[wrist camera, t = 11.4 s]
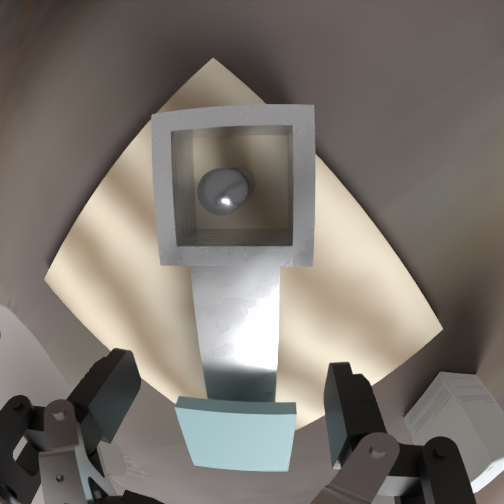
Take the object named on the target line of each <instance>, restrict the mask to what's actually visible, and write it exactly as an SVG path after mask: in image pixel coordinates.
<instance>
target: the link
mask: <svg viewBox="0 0 504 504" xmlns="http://www.w3.org/2000/svg"><path fill="white" fill-rule="evenodd" d="M151 133H152V171H153V191H154V206H155V218H156V230H157V240H158V249H159V258H160V266H190V272H191V282H192V291H193V300H194V309H195V317H196V325H197V333H198V340H199V347H200V354H201V361H202V368H203V374H204V380H205V386H206V392H207V398H208V399H212V400H225V401H242V402H275V399H276V378H277V354H278V324H279V283H280V267H313V255H314V230H315V115H314V105H295V104H256V105H231V106H216V107H205V108H195V109H186V110H177V111H170V112H163V113H157V114H152V116H151ZM249 135H287V137H288V228H231V229H197V224H196V207H195V185H194V156H193V139H195V138H208V137H224V136H249Z"/></svg>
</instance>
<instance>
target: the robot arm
mask: <svg viewBox="0 0 504 504" xmlns="http://www.w3.org/2000/svg"><path fill="white" fill-rule="evenodd" d="M140 386H141V377H140V374H139V371H138V367H137V364H136V361H135V358H134V354H133V352H132V351H131V350H126V349H120V348H114V349H113V350H112V351H111V352H110V353H109V355H108V356H107V357H103V358H102V359H100V360H99V361H97V362H96V363H94V365H93V366H92V367H91V368H90V370H89V372H87V374H86V375H85V376H84V378H83V379H82V380H81V381H80V382H79V384H78V385H77V386H76V388H75V389H74V390H73V391H72V393H71V394H70V396H69V397H68V398H67V399H66V400H63V399H60V400H55V401H53V402H51V403H50V404H48V405H47V407H40V406H33V405H32V404H31V402H30V400H29V399H28V398H27V397H26V396H23V395H17V396H14V397H12V398H11V399H9V401H8V402H7V403H6V404H5V405H4V407H3V408H2V409H1V411H0V504H31V503H32V500H33V498H34V496H35V494H36V492H37V490H38V488H39V486H40V484H41V483H42V489H43V496H44V501H45V504H164V503H162V502H160V501H158V500H156V499H154V498H151V497H147V496H144V495H140V494H137V493H134V492H131V491H128V490H125V492H124V494H123V496H118V495H117V493H116V492H115V490H114V489H113V487H112V485H111V483H110V481H109V478H108V475H107V472H106V469H105V465H104V462H103V458H102V455H101V452H100V448H99V446H98V444H99V442H100V440H101V441H104V442H107V443H111V441H112V440H113V438H114V436H115V434H116V432H117V430H118V428H119V426H120V425H121V423H122V421H123V419H124V417H125V415H126V413H127V412H128V410H129V408H130V406H131V404H132V402H133V401H134V399H135V397H136V395H137V393H138V391H139V389H140ZM323 400H324V409H325V416H326V423H327V430H328V437H329V445H330V453H331V461H332V469H340V471H339V472H338V473H337V475H336V476H335V477H334V478H333V480H332V481H331V482H330V483H329V484H328V485H327V486H325V487H324V488H323V489H322V490H321V491H320V493H319V494H318V495H317V496H316V497H315V498H314V499H313V501H312V502H311V503H310V504H371V502H372V501H373V499H374V497H375V496H376V495H384V496H394V498H395V504H476V500H475V497H474V493H473V490H472V487H471V484H470V480H469V477H468V474H467V471H466V468H465V465H464V463H463V460H462V457H461V454H460V452H459V449H458V446H457V445H456V443H455V442H454V441H453V440H452V439H450V438H448V437H444V436H438V437H434V438H432V439H430V440H429V441H427V442H426V444H425V445H406V444H401V443H398V441H397V440H396V439H395V438H394V437H393V436H391V435H389V434H388V433H387V431H386V429H385V426H384V422H383V419H382V416H381V413H380V410H379V407H378V404H377V402H376V398H375V396H374V394H373V390H372V387H371V384H370V382H369V381H368V380H367V379H366V378H365V376H364V375H363V374H362V373H361V374H353V372H352V369H351V366H350V363H349V362H332V363H329V367H328V372H327V377H326V382H325V387H324V396H323ZM22 436H24V437H25V439H26V440H27V441H28V442H27V444H26V445H25V447H24V448H23V450H22V452H21V453H20V455H19V457H18V458H17V460H16V461H15V460H14V458H13V451H14V449H15V447H16V446H17V444H18V443H19V441H20V439H21V438H22Z"/></svg>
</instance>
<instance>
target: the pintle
mask: <svg viewBox="0 0 504 504" xmlns="http://www.w3.org/2000/svg"><path fill="white" fill-rule="evenodd" d="M253 188H254V178H253V176H252V174H251V173H250V172H249V171H248V170H246V169H244V168H217V169H213V170H211V171H209V172H207V173H206V174H205V175H204V176H203V177H202V179H201V180H200V182H199V185H198V191H197V193H198V199H199V201H200V203H201V205H202V206H203V208H204V209H205V210H207V211H208V212H210V213H212V214H214V215H220V216H222V215H228V214H231V213H233V212H234V211H236V210H237V209H238V208H239V207H240V206H241V204H242V203H243V202H244V200H245V199H246V198H247V197H248V195H249V194H250V193H251V192H252V190H253Z"/></svg>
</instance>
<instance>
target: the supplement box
mask: <svg viewBox="0 0 504 504" xmlns="http://www.w3.org/2000/svg"><path fill="white" fill-rule="evenodd" d="M404 422H405V424H406V426H407V429H408V431H409V434H410V436H411V439H412V441H413V443H414V445H425V444H426V442H427V441H429V440H430V439H432V438H434V437H438V436H444V437H448V438H450V439H452V440H453V441H454V442H455V443H456V445H457V446H458V449H459V452H460V454H461V457H462V460H463V463H464V465H465V468H466V471H467V474H468V477H469V480H470V484H471V487H472V490H473V493H475V492H477V491H479V490H480V489H481V488H483V487H484V486H485V485H487V484H488V483H489V482H490V481H491V480H493V479H494V478H495V477H496V476H497V475H498V474H499V473H500V472H502V471H503V470H504V412H503V411H502V409H501V408H500V406H499V405H498V403H497V402H496V401H495V399H494V398H493V397H492V395H491V394H490V392H489V391H488V390H487V388H486V387H485V386H484V384H483V383H482V381H481V380H480V379H479V378H478V376H477V375H472V374H460V373H450V372H439V374H438V375H437V376H436V378H435V379H434V380H433V382H432V383H431V384H430V386H429V387H428V388H427V390H426V391H425V392H424V394H423V395H422V396H421V397H420V399H419V400H418V401H417V402H416V404H415V405H414V406H413V407H412V409H411V410H410V411H409V412H408V413H407V414H406V416H405V417H404Z"/></svg>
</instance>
